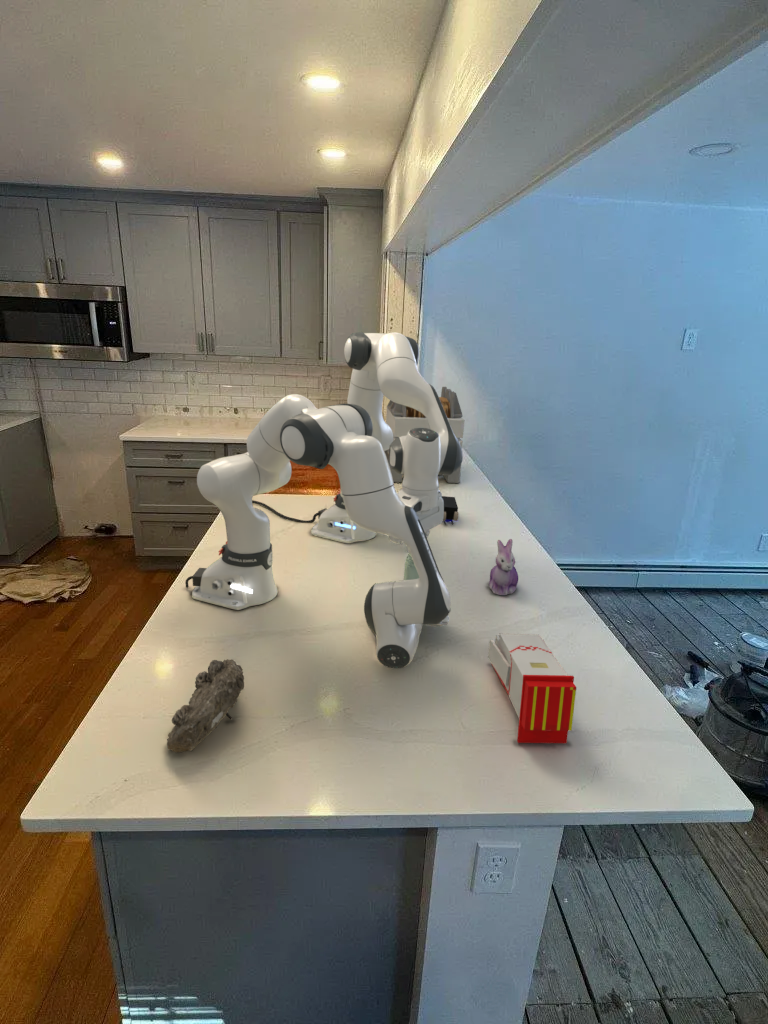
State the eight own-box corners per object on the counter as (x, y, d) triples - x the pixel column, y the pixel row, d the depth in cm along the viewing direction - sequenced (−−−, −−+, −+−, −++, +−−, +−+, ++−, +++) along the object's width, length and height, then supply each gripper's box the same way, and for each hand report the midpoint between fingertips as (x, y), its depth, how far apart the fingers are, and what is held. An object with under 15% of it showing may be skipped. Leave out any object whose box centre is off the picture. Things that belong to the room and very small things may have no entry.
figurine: (501, 599, 157) (507, 549, 152) (479, 583, 165) (484, 536, 160) (527, 593, 161) (534, 544, 156) (504, 578, 170) (510, 531, 165)
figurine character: (458, 530, 209) (453, 512, 222) (460, 512, 205) (455, 494, 219) (440, 529, 209) (436, 511, 222) (442, 511, 205) (438, 494, 219)
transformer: (382, 463, 289) (386, 382, 275) (445, 464, 293) (451, 384, 279) (390, 482, 257) (394, 392, 243) (460, 483, 261) (468, 394, 247)
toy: (536, 617, 130) (585, 683, 100) (531, 671, 132) (578, 750, 103) (483, 616, 129) (518, 682, 100) (479, 670, 132) (511, 749, 103)
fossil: (192, 660, 117) (244, 628, 112) (224, 691, 120) (276, 661, 115) (142, 746, 98) (202, 712, 93) (182, 779, 101) (242, 748, 96)
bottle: (398, 611, 149) (403, 539, 142) (413, 608, 151) (419, 537, 144) (407, 620, 145) (412, 546, 138) (422, 616, 147) (429, 543, 140)
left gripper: (449, 614, 131) (453, 587, 144) (363, 603, 134) (374, 577, 147) (447, 637, 133) (451, 609, 146) (362, 626, 136) (373, 599, 149)
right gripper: (430, 484, 147) (426, 534, 151) (384, 503, 131) (381, 558, 135) (452, 490, 143) (447, 540, 148) (407, 510, 127) (403, 565, 132)
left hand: (412, 593), depth 147 cm, fingers closed on bottle, 5 cm apart
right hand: (415, 549), depth 141 cm, fingers closed on cap, 3 cm apart
